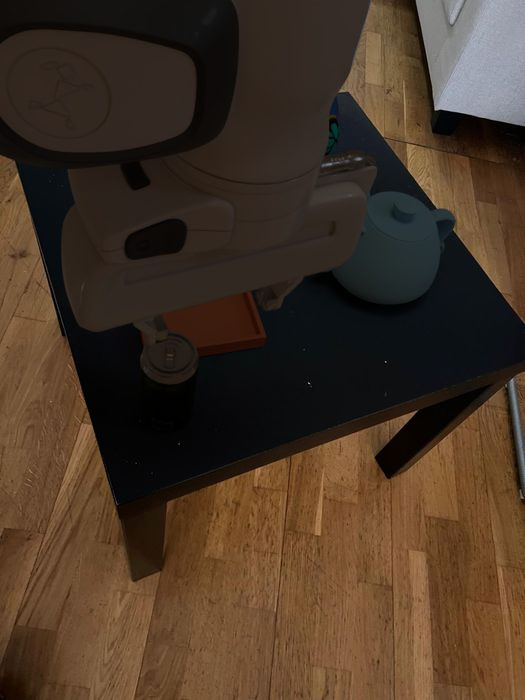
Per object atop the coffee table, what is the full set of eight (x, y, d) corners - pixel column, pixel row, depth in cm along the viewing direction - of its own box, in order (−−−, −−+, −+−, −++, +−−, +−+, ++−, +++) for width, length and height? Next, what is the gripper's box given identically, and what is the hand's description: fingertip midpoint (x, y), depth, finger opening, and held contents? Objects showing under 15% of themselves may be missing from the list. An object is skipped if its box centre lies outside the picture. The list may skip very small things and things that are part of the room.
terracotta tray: (146, 365, 61) (146, 355, 60) (130, 289, 67) (130, 278, 65) (263, 346, 66) (266, 337, 64) (239, 277, 71) (242, 266, 69)
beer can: (191, 436, 58) (199, 380, 48) (139, 434, 57) (137, 377, 47) (192, 392, 61) (200, 331, 51) (144, 389, 60) (142, 327, 50)
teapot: (330, 327, 69) (362, 260, 59) (278, 218, 79) (297, 144, 68) (457, 303, 75) (505, 239, 65) (394, 205, 85) (428, 135, 74)
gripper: (359, 117, 35) (309, 260, 47) (35, 164, 28) (69, 322, 39) (412, 179, 33) (345, 316, 44) (69, 251, 25) (94, 394, 36)
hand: (213, 319), depth 41 cm, fingers open, 8 cm apart
